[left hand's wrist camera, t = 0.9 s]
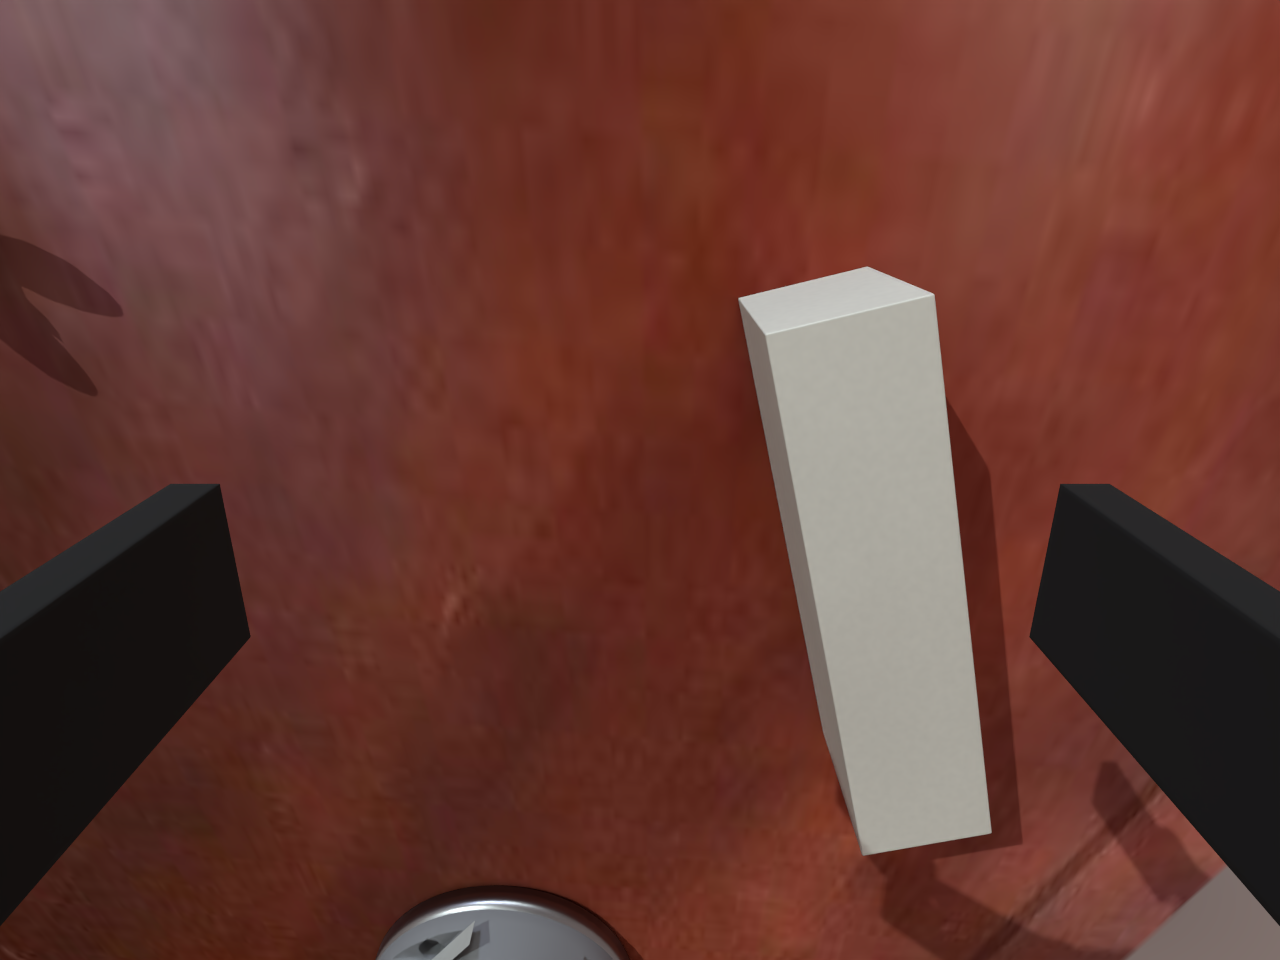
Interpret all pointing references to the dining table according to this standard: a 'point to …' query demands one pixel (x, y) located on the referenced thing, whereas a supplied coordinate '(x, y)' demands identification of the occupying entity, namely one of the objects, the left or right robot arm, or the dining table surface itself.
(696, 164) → the dining table surface
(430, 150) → the dining table surface
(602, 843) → the dining table surface
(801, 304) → the bar
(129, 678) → the left robot arm
